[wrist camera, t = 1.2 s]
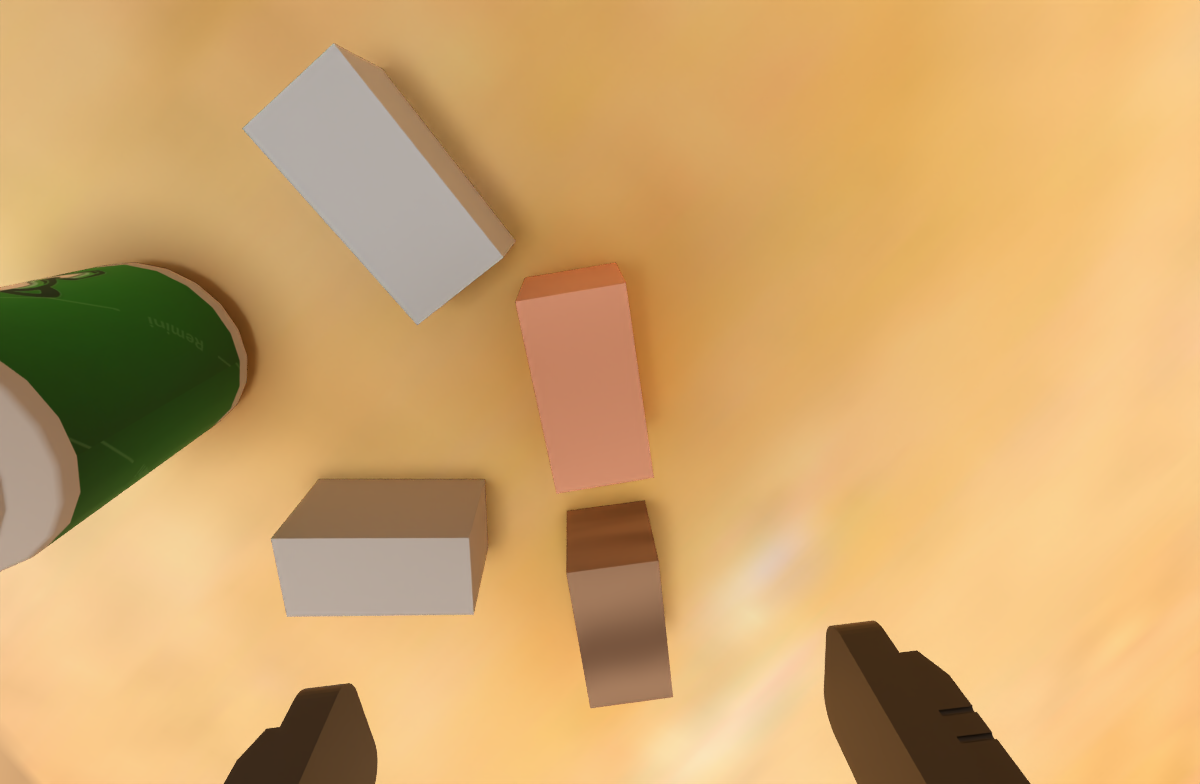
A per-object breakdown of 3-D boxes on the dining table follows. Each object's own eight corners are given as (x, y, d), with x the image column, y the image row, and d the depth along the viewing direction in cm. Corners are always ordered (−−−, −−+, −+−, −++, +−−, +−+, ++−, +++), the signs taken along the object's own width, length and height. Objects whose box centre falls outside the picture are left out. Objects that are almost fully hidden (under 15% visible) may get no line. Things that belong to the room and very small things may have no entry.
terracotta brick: (525, 277, 25) (515, 301, 21) (615, 261, 25) (625, 283, 21) (558, 440, 28) (556, 493, 24) (640, 426, 28) (653, 477, 24)
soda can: (209, 237, 24) (-101, 297, 13) (289, 400, 27) (89, 566, 16) (41, 284, 24) (-404, 382, 13) (136, 440, 27) (-166, 631, 16)
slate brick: (331, 546, 30) (286, 616, 25) (319, 477, 28) (270, 538, 24) (488, 545, 30) (473, 614, 26) (485, 478, 29) (469, 537, 24)
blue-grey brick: (308, 136, 23) (241, 128, 18) (382, 69, 22) (333, 43, 18) (445, 296, 26) (417, 325, 21) (516, 240, 25) (503, 257, 20)
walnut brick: (566, 509, 30) (566, 573, 25) (644, 499, 30) (658, 560, 25) (587, 631, 33) (590, 708, 28) (658, 621, 33) (672, 697, 28)
